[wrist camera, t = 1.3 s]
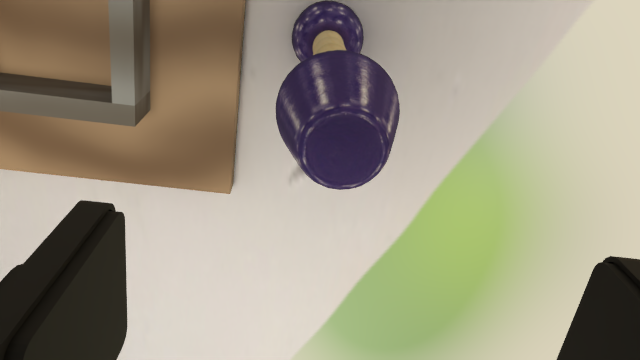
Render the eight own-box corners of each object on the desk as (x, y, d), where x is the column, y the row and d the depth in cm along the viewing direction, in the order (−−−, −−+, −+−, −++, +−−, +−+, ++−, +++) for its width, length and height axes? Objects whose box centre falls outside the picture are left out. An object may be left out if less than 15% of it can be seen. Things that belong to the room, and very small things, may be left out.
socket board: (-156, -231, 26) (-244, -262, 21) (256, -166, 27) (247, -183, 23) (-78, 149, 34) (-131, 179, 30) (232, 184, 35) (222, 216, 31)
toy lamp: (379, 58, 32) (442, 171, 17) (313, 96, 33) (316, 236, 18) (341, -14, 30) (372, 40, 15) (272, 28, 31) (236, 119, 16)
